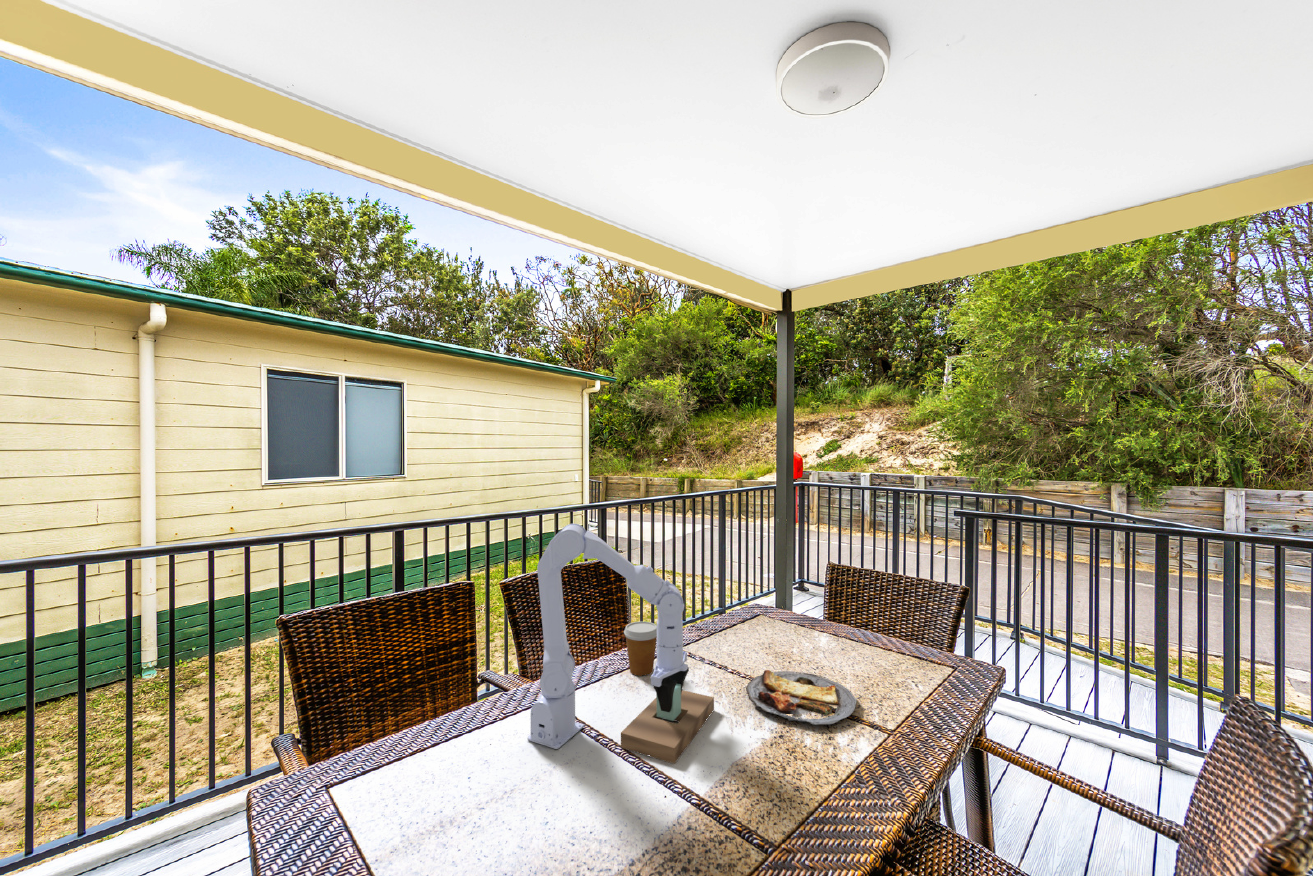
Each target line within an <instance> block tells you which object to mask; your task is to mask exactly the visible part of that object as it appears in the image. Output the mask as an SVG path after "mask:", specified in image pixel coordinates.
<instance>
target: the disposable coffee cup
mask: <svg viewBox="0 0 1313 876" xmlns="http://www.w3.org/2000/svg"><path fill="white" fill-rule="evenodd" d="M623 634H624V637H625V640H626V649H627V656H628V657H627V658H628V665H629V672H630V674H631V675H633V674H634V676H637V675H638V677H639V676H640V677H643V676H642V675H645V676H648V675H647V674H649V675H651V674H653V672H654V667H655V665H654V664H655V657H656V656H655V655H656V649H657V624H655V623H653V622H651V621H634V622H630V623H628V624H627V625H625V628H624V630H623ZM650 673H651V674H650Z"/></svg>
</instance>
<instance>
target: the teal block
mask: <svg viewBox="0 0 1313 876" xmlns="http://www.w3.org/2000/svg"><path fill="white" fill-rule="evenodd" d="M655 694H656V693H655ZM655 696H656V697H655V698H656V700H657V717H660V718H664V719H663V720H667V721H670V722H674V720H675V719H676V718H677V716H678V715H679V714H680V713H681V684H676V686H675V689H674V693H673V700H672V708H671V711H670V712H665V711H661V708H660V704H659V700H658V697H657V694H656V695H655Z"/></svg>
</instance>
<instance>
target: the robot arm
mask: <svg viewBox="0 0 1313 876" xmlns="http://www.w3.org/2000/svg"><path fill="white" fill-rule="evenodd" d="M581 554H583V555H582V559H583V560H587V559H592V560H593V559H597V560H598V561H600V562H602V563H603V564H605V565H606V566H607V567H609V568H610V569H612V570H613V571H615V572H616V573H618V574H620V575H621V576H622V577H623V578H625V579H626V585H627V587H628V588H629V589H630V590H631V591H633V592H634V593H635V594H637V595H638V596H639V597H640V598H642V599H643V600H645V601H646V602H647V603H649V604H651V605H654V606H656V610H657V620H656V626H657V639H656V663H655V665H654V668H653V672H652V673H651V674H650V686H652V687H653V689H654V690H655V694H657V697H658V700H659V704H660V708H661V711H665V712H670V711H671V708H672V700H673V693H674V689H675V686H676V684H681V693H682V690H683V688H684V682H685V679H686V677H687V675H688V674H689V672H690V671H689V669H690V667H689V664H686V662H687V661H688V652H687V651H684V638H683V637H684V636H683V635H684V634H683V633H684V630H683V629H684V628H683V627H684V626H683V623H684V622H683V620H682V619H683V613H684V609H685V603H684V599H683V597H682V593H681V590H680V589H679V588H678V587H677V586H676V585H675V584H673V583H671V581H669V580H668V579H666V580H665V579H663V578H662V577H660V576H659V575H658V574H656V573H655V572H654V569H653V567H651V566H650V565H648V566H646V565H644V564H637V565H634V564H633V563H631V561H629V560H628V559H626V557H624V556H623V555H622V554H621V553H619V552H618V551H617V550H616V549H614V548H613V547H612V546H610V545H609V544H608V543H607V542H606V541H605V540H603V539H602V538H600V537H599V536H598V535H596V534H595V533H594V532H592V531H590V530H588V529H587V530H586V529H585V527H584V526H582V525H581V524H579V523H569V524H567V525H565V526H564V527H562V528H561V529H560V530H559V531H558V532H557V533H556V534H555V535H554V536H553V537H552V539H551V540H550V541H549V543H548V545H547V546H546V549H545V550H544V552H543V554H542V556H540V557H541V558H539V561H538V563H537V568H536V569H537V578H538V579H537V580H538V591H539V602H540V612H541V624H542V635H543V636H542V637H543V648H544V649H543V657H542V659H543V660H542V668H543V669H542V674H541V676H540V678H539V686H540V695H539V697H538V698H537V700H536V702H535V703H534V704H533V705H532V706H531V708H530V734H529V736H527V737H526V738H527V741H529V742H533V743H536V744H538V745H539V744H540V745H542V746H544V747H547V748H551V749H555V750H558V749H560V748H561V747H562V746H563V745H564V744H566V743H567V742H568V741H569V740H570V739H572V738H573V736H575V735H576V734H577V733H578V732H579V731H581V730H582V729H583V728H584V723H580V722H576V685H575V683H574V682H573V679H572V678H573V677H572V676H573V674H574V671H575V669H576V662H575V658H574V656H573V655H572V652H570V643H569V642H568V639H567V636H568V635H567V628H566V616H565V615H566V614H565V606H564V605H565V604H564V594H563V593H564V592H563V585H562V584H563V582H562V573H561V572H562V569H563V568H564V567H565V566H566V565H567V564H568V563H570V562H572V561H573V560H576V558H578V557H579V556H580V555H581Z"/></svg>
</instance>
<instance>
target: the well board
mask: <svg viewBox="0 0 1313 876" xmlns="http://www.w3.org/2000/svg"><path fill="white" fill-rule="evenodd" d="M714 697H715V696H714ZM714 697H713V696H710V695H706V694H702V693H697V692H693V691H688V690H683V689H682V693H681V713H680V714H679V715H678V716H677V718H676V719H675V720H676V721H675V723H674V722H673V721H669V720H665V719H663V718H660V717H657V700H656V697H655V698H654V699H653V700H652V701H651V702H650V703H649V704H648V705H647V706H646V707H645V708H644V709H643V710H642V711H641V712H640V713H639V714H638V715H637V716H636V717H635V718H634V719H633V720H632V721H631V722H630V723H629V724H628V725H627V726H626V727H625V728H624V729H623V730H622V731H621V732H620V748H621V747H622V748H621V749H624V750H627V751H630V752H633V751H635V752H634V753H637V752H638V753H637V754H640V753H641V754H640V755H643V754H644V756H647V755H650V756H651V758H653V757H654V759H656V760H657V759H658V760H660V761H663V760H664V761H663V762H668V763H671V764H673V765H676V763H677V762H678V760H679V759H680V758H681V756H682V755H683V754H684V752H685V750H686V749H687V748H688V747H689V744H690V743H691V742H692V741H693V740H694V738H695V737H696V735H697V734H698V733H697V732H699V731H700V730H701V729H702V727H703V726H704V725H705V723H706V722H707V721H706V719H707V718H708V717H709V718H710V716H711V715H712V714H713V712H714V711H715V700H714V699H715V698H714ZM713 710H714V711H713ZM712 711H713V712H712ZM711 713H712V714H711ZM710 714H711V715H710ZM709 715H710V716H709ZM709 718H708V719H709ZM662 719H663V720H662ZM708 719H707V720H708ZM678 721H679V722H678ZM705 721H706V722H705ZM676 722H677V723H676ZM703 724H704V725H703ZM702 725H703V726H702ZM700 728H701V729H700ZM699 729H700V730H699ZM650 756H649V757H650Z"/></svg>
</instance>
